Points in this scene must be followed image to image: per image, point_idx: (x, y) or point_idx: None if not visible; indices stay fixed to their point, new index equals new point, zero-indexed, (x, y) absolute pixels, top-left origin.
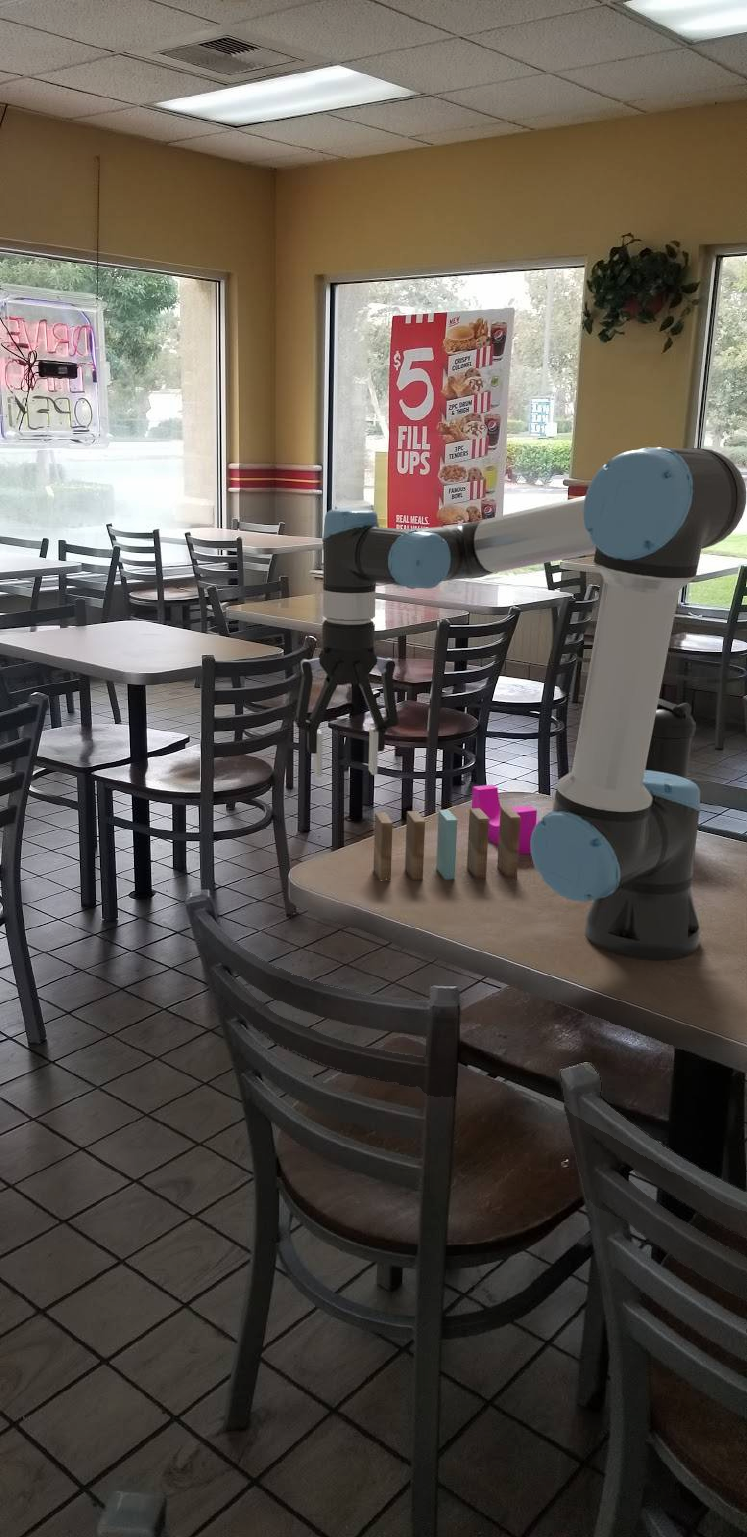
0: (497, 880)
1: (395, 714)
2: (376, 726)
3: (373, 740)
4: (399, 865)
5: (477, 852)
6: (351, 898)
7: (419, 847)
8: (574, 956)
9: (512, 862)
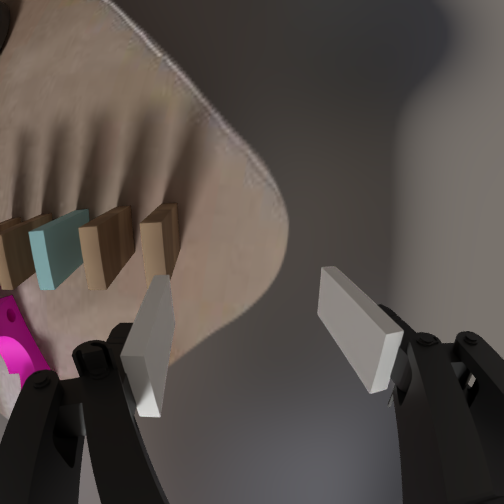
0: (29, 213)
1: (20, 407)
2: (127, 398)
3: (149, 334)
4: (139, 278)
5: (31, 221)
6: (227, 159)
7: (104, 216)
8: (32, 8)
9: (4, 222)
